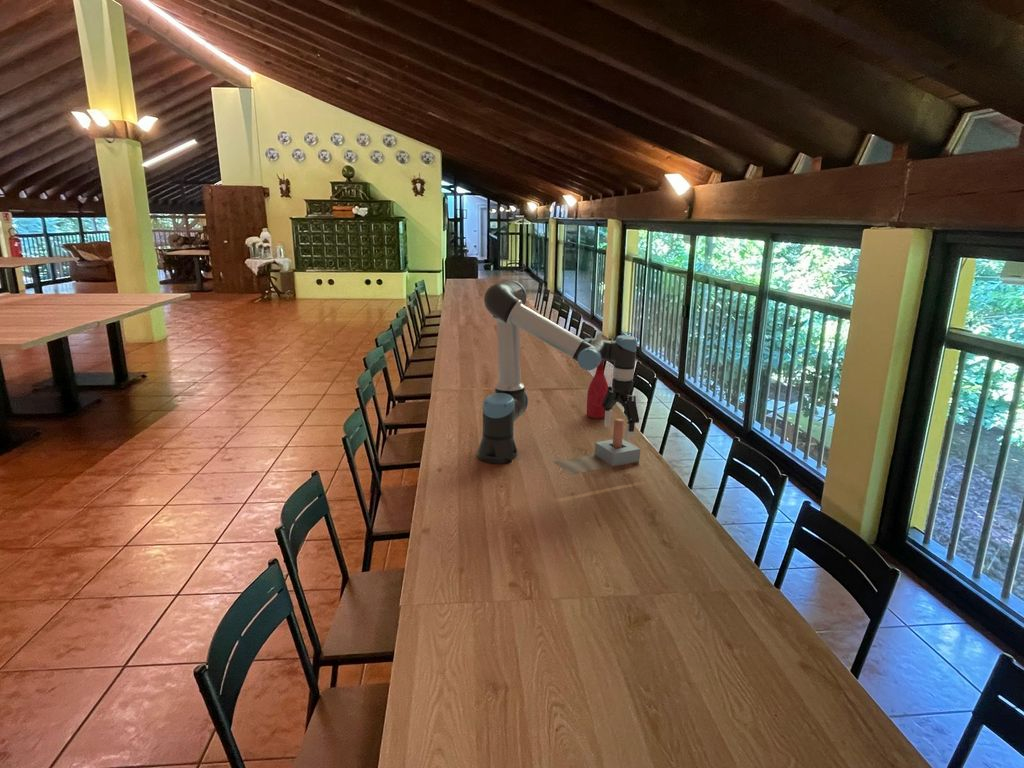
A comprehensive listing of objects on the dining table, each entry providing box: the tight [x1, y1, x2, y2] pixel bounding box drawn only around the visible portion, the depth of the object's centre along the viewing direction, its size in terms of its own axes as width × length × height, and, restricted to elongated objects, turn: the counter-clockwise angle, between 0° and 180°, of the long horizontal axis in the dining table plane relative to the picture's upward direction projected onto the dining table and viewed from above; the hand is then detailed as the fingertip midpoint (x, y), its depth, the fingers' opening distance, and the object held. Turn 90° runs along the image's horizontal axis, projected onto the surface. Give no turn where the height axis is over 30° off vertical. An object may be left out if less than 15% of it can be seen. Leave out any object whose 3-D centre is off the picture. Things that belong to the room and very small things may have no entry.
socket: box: [593, 438, 641, 467], centre depth 233 cm, size 12×12×5 cm
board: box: [554, 454, 640, 475], centre depth 230 cm, size 30×12×1 cm, turn 116°
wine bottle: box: [586, 360, 609, 419], centre depth 278 cm, size 10×10×30 cm
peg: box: [612, 418, 625, 449], centre depth 231 cm, size 4×4×15 cm
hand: (617, 432), depth 231 cm, fingers open, 13 cm apart
